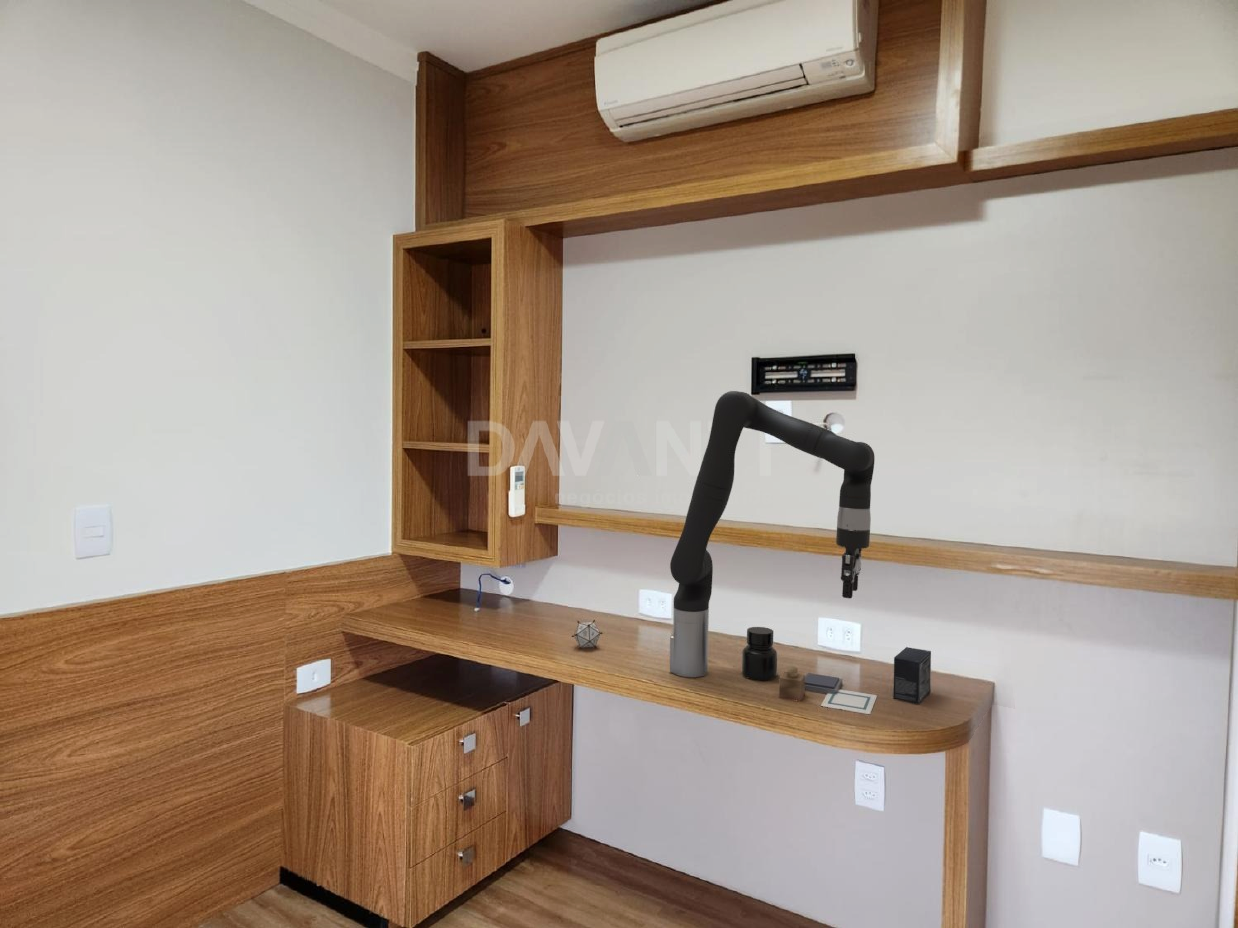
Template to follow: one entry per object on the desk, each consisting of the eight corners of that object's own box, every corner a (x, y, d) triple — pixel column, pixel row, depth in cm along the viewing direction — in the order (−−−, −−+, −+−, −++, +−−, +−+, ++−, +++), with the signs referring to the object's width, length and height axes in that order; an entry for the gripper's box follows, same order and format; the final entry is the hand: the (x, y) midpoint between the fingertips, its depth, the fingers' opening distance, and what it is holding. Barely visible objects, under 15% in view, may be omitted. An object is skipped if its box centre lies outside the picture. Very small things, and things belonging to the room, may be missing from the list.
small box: (903, 686, 189) (905, 645, 189) (931, 692, 185) (932, 650, 185) (891, 698, 181) (892, 655, 180) (919, 705, 177) (921, 661, 176)
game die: (589, 658, 220) (605, 628, 224) (595, 656, 212) (611, 625, 216) (563, 643, 220) (579, 613, 223) (567, 641, 212) (584, 610, 216)
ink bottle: (784, 675, 196) (785, 630, 196) (766, 684, 190) (767, 637, 189) (752, 667, 203) (753, 623, 202) (734, 675, 196) (735, 630, 195)
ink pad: (798, 689, 186) (799, 682, 186) (806, 678, 194) (806, 671, 194) (836, 695, 182) (836, 688, 182) (842, 683, 190) (842, 677, 190)
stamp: (779, 698, 180) (779, 669, 180) (784, 691, 185) (784, 663, 184) (800, 701, 178) (800, 672, 178) (804, 694, 183) (805, 666, 182)
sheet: (820, 706, 175) (820, 705, 175) (830, 688, 187) (830, 687, 187) (870, 714, 170) (870, 713, 170) (876, 696, 182) (876, 694, 182)
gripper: (841, 521, 185) (838, 586, 186) (832, 528, 172) (828, 598, 174) (873, 524, 182) (870, 590, 183) (866, 531, 169) (862, 602, 170)
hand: (849, 593), depth 178 cm, fingers open, 8 cm apart
